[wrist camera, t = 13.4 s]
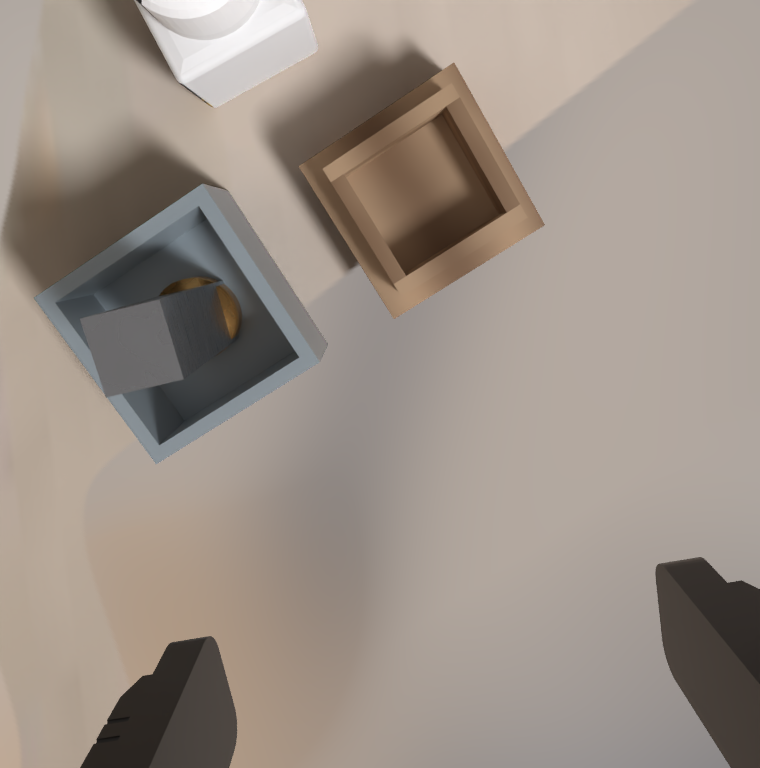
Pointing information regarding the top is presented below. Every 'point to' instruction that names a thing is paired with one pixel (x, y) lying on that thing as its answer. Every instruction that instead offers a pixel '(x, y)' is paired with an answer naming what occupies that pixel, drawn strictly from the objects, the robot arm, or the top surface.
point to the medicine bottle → (228, 42)
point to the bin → (181, 261)
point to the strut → (163, 335)
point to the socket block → (422, 192)
